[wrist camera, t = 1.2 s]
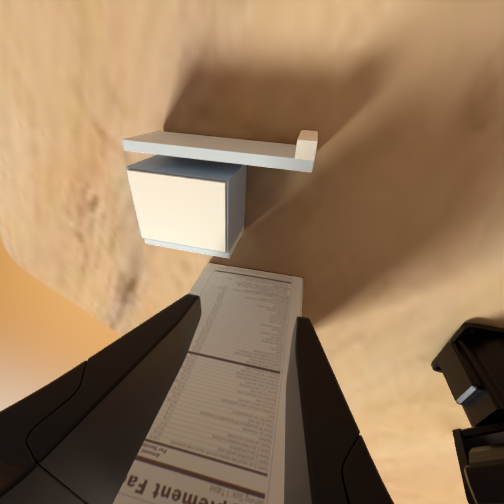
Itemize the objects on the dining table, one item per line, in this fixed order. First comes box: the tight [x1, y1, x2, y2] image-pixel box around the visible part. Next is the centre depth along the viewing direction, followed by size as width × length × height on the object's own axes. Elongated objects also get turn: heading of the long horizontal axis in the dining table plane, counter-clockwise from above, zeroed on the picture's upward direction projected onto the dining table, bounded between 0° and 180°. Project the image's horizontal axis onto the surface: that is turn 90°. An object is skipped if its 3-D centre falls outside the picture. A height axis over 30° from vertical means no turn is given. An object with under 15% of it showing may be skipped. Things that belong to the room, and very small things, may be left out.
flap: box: [122, 130, 318, 173], centre depth 15 cm, size 11×2×4 cm, turn 88°
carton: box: [126, 155, 247, 259], centre depth 18 cm, size 6×6×5 cm
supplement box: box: [113, 263, 304, 504], centre depth 18 cm, size 10×9×17 cm
